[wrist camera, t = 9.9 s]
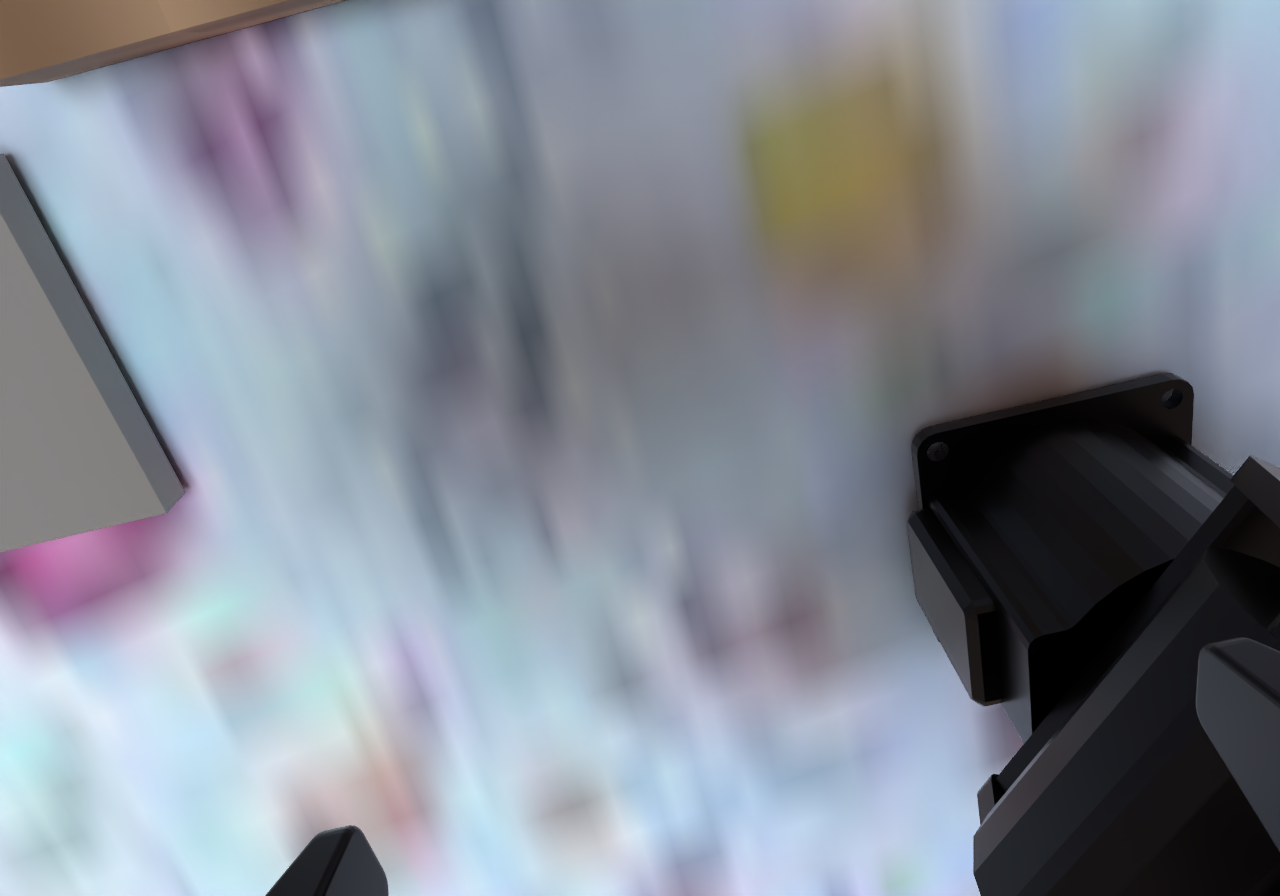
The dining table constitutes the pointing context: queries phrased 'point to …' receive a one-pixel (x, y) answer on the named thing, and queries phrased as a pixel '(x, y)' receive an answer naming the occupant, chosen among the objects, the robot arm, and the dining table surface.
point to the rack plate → (116, 30)
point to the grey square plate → (63, 401)
